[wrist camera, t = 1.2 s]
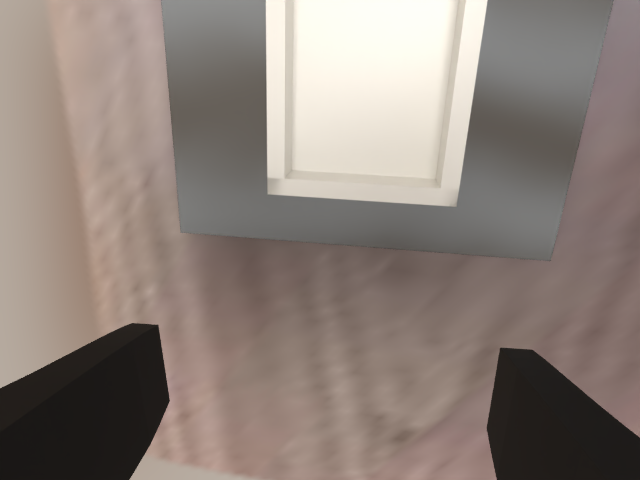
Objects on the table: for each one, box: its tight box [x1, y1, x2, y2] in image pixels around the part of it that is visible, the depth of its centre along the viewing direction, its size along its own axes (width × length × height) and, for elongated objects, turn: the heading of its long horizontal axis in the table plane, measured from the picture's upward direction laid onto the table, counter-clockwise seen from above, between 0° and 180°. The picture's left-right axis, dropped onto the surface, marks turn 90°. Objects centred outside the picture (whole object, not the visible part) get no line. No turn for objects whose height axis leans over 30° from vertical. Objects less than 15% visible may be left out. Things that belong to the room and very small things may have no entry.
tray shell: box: [266, 0, 488, 207], centre depth 14 cm, size 12×6×2 cm, turn 178°
